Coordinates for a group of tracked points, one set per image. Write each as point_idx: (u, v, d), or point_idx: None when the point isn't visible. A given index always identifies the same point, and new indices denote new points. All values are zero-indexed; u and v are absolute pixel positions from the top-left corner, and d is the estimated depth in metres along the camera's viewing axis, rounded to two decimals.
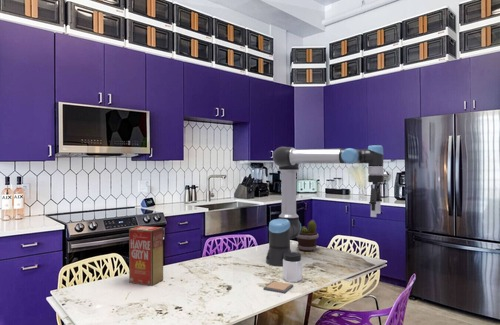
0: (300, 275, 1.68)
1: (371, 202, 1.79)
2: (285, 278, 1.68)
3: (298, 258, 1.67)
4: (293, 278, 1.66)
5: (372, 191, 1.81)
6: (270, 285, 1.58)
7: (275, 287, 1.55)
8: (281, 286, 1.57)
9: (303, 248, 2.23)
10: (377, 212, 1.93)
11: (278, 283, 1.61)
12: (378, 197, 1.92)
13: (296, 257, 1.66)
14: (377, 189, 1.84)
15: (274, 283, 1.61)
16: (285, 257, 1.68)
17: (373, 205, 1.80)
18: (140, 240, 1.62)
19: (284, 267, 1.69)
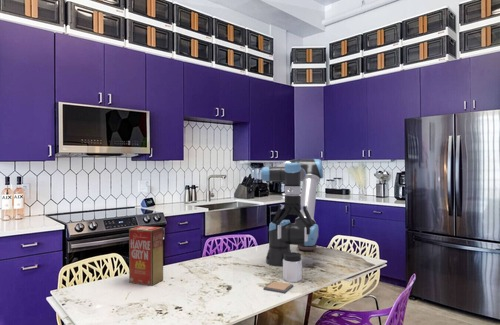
0: (300, 275, 1.68)
1: None
2: (285, 278, 1.68)
3: (298, 258, 1.67)
4: (293, 278, 1.66)
5: None
6: (270, 285, 1.58)
7: (275, 287, 1.55)
8: (281, 286, 1.57)
9: (303, 248, 2.23)
10: None
11: (278, 283, 1.61)
12: None
13: (296, 257, 1.66)
14: None
15: (274, 283, 1.61)
16: (285, 257, 1.68)
17: None
18: (140, 240, 1.62)
19: (284, 267, 1.69)
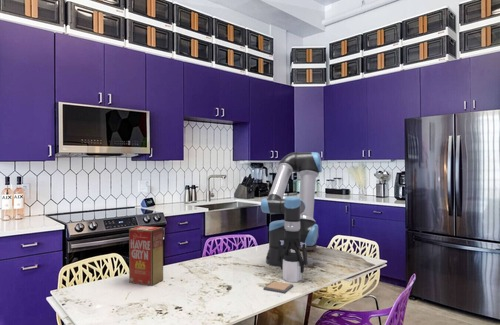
0: None
1: None
2: (285, 278, 1.68)
3: (298, 258, 1.67)
4: (293, 278, 1.66)
5: None
6: (270, 285, 1.58)
7: (275, 287, 1.55)
8: (281, 286, 1.57)
9: None
10: None
11: (278, 283, 1.61)
12: None
13: (296, 257, 1.66)
14: (286, 246, 1.70)
15: (274, 283, 1.61)
16: (285, 257, 1.68)
17: None
18: (140, 240, 1.62)
19: (284, 267, 1.69)
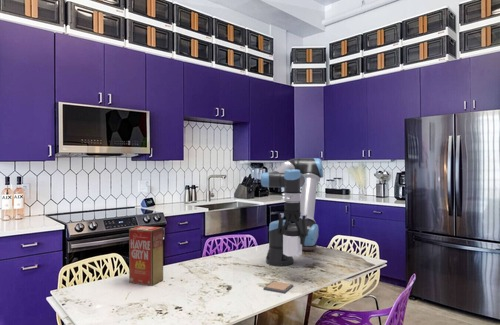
0: None
1: None
2: (285, 253, 1.68)
3: (298, 233, 1.67)
4: (294, 253, 1.66)
5: None
6: (270, 285, 1.58)
7: (275, 287, 1.55)
8: (281, 286, 1.57)
9: (303, 248, 2.23)
10: None
11: (278, 283, 1.61)
12: None
13: (296, 232, 1.66)
14: None
15: (274, 283, 1.61)
16: (285, 232, 1.68)
17: None
18: (140, 240, 1.62)
19: (284, 242, 1.69)
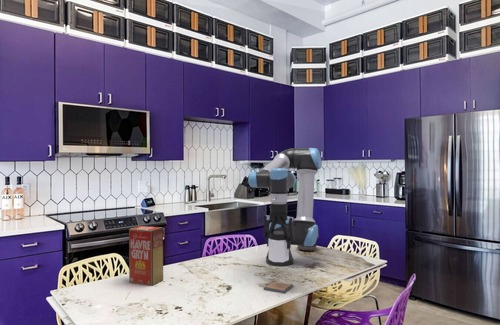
0: None
1: None
2: (271, 258, 1.55)
3: (285, 236, 1.55)
4: (279, 258, 1.54)
5: None
6: (270, 285, 1.58)
7: (275, 287, 1.55)
8: (281, 286, 1.57)
9: (303, 248, 2.23)
10: None
11: (278, 283, 1.61)
12: None
13: (283, 235, 1.54)
14: (272, 221, 1.58)
15: (274, 283, 1.61)
16: (271, 236, 1.55)
17: None
18: (140, 240, 1.62)
19: (270, 247, 1.56)
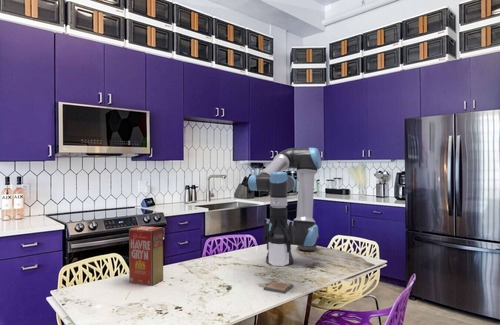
0: None
1: None
2: (271, 262, 1.55)
3: (285, 240, 1.55)
4: (280, 262, 1.54)
5: None
6: (270, 285, 1.58)
7: (275, 287, 1.55)
8: (281, 286, 1.57)
9: (303, 248, 2.23)
10: None
11: (278, 283, 1.61)
12: None
13: (283, 239, 1.54)
14: (272, 224, 1.58)
15: (274, 283, 1.61)
16: (271, 239, 1.56)
17: None
18: (140, 240, 1.62)
19: (270, 250, 1.57)
